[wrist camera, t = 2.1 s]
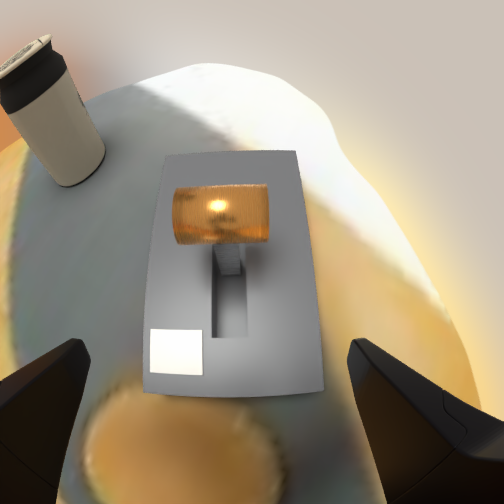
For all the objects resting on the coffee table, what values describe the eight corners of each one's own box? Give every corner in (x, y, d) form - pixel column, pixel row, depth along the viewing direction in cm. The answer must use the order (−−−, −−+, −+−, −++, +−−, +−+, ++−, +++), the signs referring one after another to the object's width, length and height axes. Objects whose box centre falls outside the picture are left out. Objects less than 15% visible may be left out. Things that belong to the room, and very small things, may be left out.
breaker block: (310, 386, 20) (324, 391, 16) (160, 388, 19) (142, 392, 15) (290, 177, 27) (295, 149, 24) (174, 181, 27) (165, 154, 23)
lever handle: (261, 284, 22) (270, 224, 13) (201, 286, 21) (169, 227, 13) (259, 247, 23) (266, 171, 14) (202, 249, 23) (176, 175, 14)
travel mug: (60, 198, 27) (-20, 92, 10) (53, 163, 29) (-6, 69, 13) (112, 163, 29) (52, 38, 12) (99, 132, 31) (53, 28, 15)
